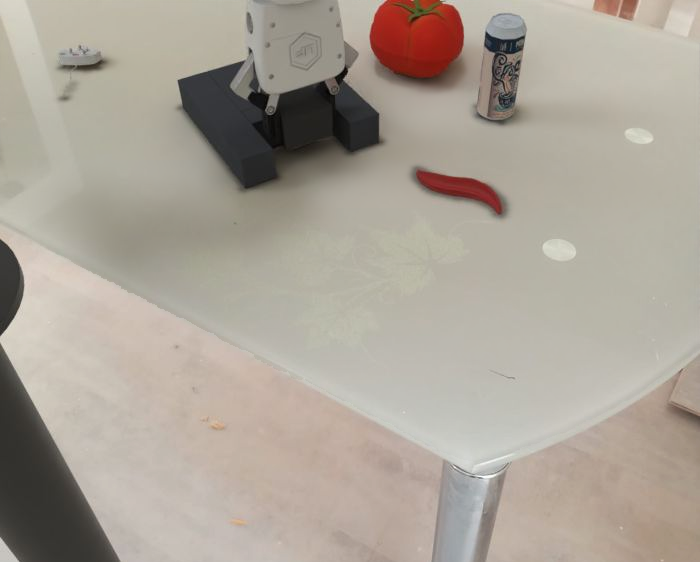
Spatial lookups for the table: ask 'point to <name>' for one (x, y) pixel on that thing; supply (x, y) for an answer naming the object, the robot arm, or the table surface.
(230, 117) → the grey pad
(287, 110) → the black puzzle block
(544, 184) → the table surface
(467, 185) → the cayenne pepper
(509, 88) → the beer can
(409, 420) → the table surface
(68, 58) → the game controller
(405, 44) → the tomato
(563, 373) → the table surface
